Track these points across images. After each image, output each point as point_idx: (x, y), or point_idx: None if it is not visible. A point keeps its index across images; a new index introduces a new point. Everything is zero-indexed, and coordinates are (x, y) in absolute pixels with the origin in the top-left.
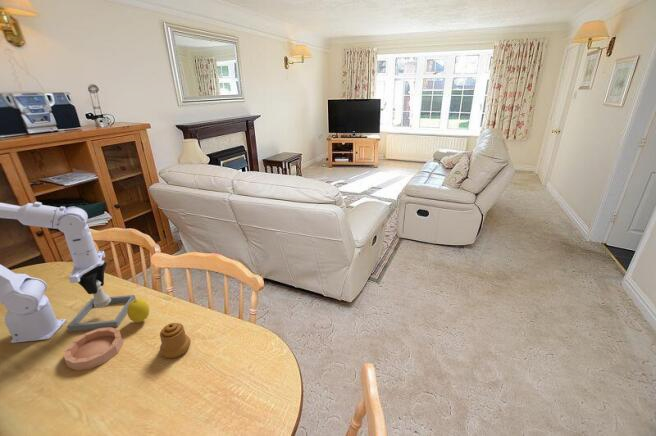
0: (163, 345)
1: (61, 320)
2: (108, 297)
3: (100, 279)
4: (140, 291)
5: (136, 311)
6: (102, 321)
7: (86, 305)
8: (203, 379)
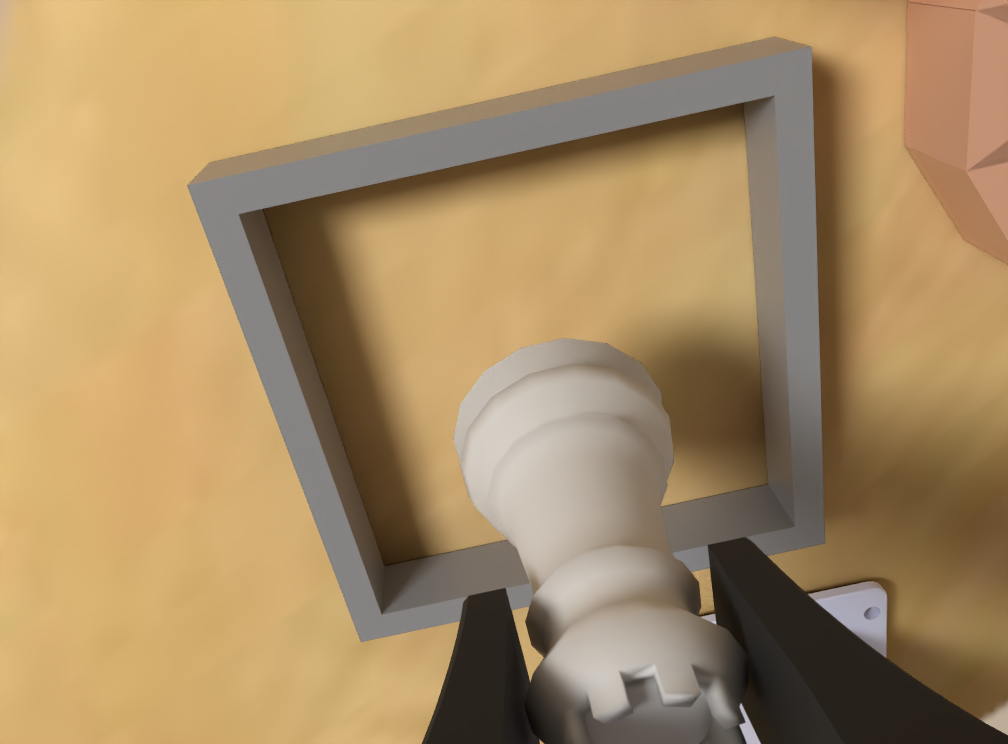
0: None
1: None
2: (546, 387)
3: (514, 713)
4: (14, 222)
5: None
6: (789, 237)
7: None
8: None
